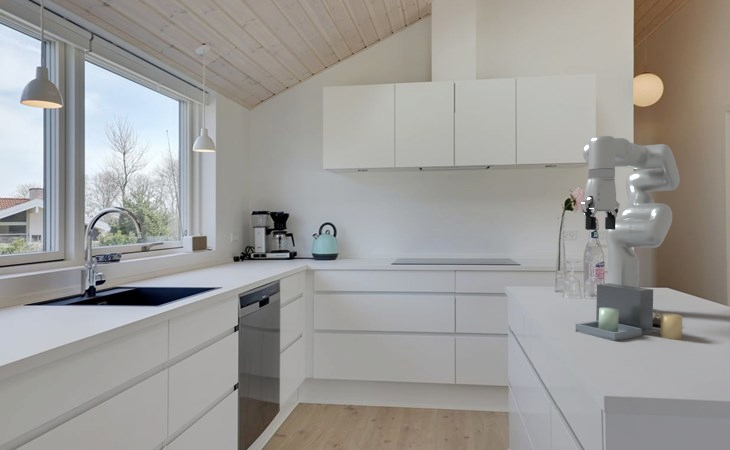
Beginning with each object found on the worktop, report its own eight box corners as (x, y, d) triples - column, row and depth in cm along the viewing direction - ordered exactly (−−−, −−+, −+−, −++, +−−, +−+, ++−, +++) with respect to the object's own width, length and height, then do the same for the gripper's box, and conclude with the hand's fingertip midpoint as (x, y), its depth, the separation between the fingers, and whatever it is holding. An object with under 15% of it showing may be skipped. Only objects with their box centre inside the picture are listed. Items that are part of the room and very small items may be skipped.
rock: (672, 331, 131) (672, 316, 131) (628, 324, 138) (628, 310, 138) (678, 325, 139) (678, 311, 139) (636, 319, 146) (636, 305, 146)
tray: (602, 326, 134) (602, 319, 134) (641, 336, 124) (641, 328, 124) (575, 330, 129) (575, 323, 129) (614, 340, 119) (614, 333, 119)
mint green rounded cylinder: (606, 327, 130) (607, 307, 129) (621, 332, 125) (622, 310, 125) (594, 329, 128) (595, 308, 127) (609, 334, 123) (610, 312, 123)
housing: (609, 321, 141) (609, 282, 141) (655, 332, 129) (656, 289, 128) (593, 324, 137) (593, 284, 137) (639, 335, 125) (640, 291, 125)
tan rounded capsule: (666, 334, 127) (667, 312, 126) (685, 338, 122) (686, 316, 122) (656, 336, 124) (657, 314, 124) (675, 340, 120) (675, 317, 120)
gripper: (607, 177, 153) (606, 229, 153) (573, 175, 145) (572, 229, 145) (629, 176, 146) (628, 229, 147) (594, 173, 138) (593, 229, 139)
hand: (600, 229), depth 146 cm, fingers open, 9 cm apart
